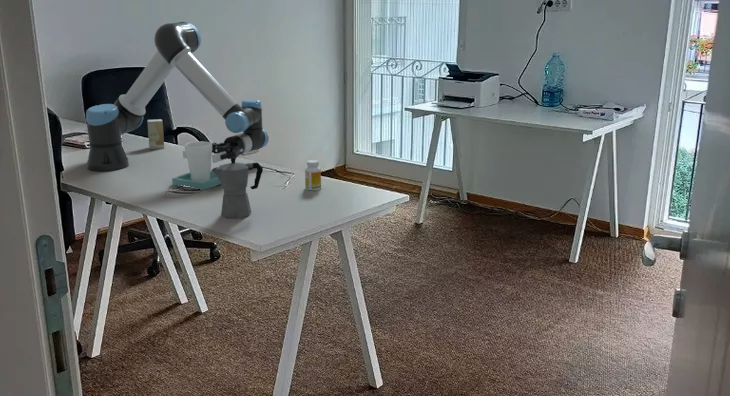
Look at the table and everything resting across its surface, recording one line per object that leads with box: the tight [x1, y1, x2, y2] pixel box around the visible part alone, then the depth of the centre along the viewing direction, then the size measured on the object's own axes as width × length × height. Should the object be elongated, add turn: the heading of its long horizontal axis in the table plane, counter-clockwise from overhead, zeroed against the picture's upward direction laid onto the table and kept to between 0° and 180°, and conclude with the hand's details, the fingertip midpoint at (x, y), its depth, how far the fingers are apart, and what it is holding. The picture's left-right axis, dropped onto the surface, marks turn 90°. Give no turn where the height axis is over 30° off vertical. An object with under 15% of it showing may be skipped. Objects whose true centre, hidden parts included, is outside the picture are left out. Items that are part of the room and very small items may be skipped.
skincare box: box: [147, 118, 165, 150], centre depth 295 cm, size 6×4×12 cm
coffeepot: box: [211, 157, 264, 220], centre depth 207 cm, size 15×9×18 cm, turn 111°
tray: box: [171, 170, 221, 191], centre depth 243 cm, size 14×14×2 cm
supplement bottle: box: [304, 159, 322, 191], centre depth 235 cm, size 5×5×10 cm
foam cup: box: [183, 141, 213, 182], centre depth 241 cm, size 10×9×13 cm
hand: (198, 156), depth 240 cm, fingers open, 13 cm apart
